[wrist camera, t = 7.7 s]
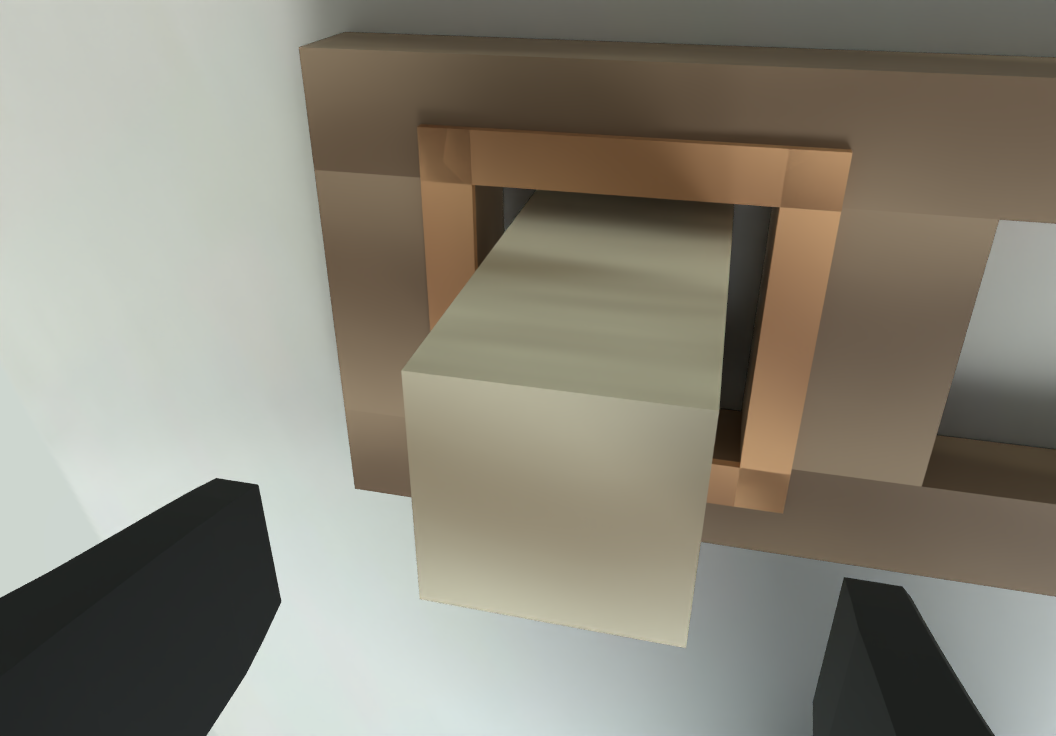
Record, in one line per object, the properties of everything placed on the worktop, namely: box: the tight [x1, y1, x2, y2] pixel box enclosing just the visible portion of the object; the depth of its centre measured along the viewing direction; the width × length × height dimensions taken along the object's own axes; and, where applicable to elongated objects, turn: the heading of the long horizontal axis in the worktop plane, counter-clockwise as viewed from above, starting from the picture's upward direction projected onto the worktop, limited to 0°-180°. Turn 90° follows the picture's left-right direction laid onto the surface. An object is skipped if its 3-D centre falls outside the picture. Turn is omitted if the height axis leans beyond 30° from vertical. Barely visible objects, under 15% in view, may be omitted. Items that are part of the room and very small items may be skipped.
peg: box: [401, 190, 734, 648], centre depth 15 cm, size 4×4×8 cm
